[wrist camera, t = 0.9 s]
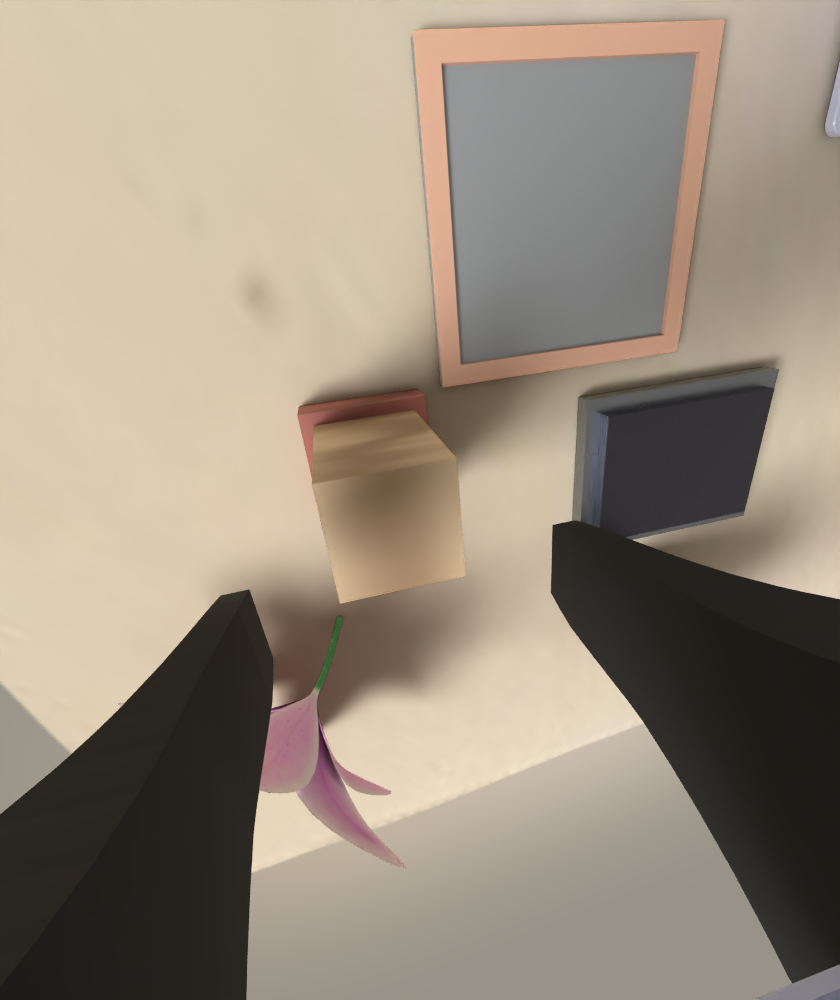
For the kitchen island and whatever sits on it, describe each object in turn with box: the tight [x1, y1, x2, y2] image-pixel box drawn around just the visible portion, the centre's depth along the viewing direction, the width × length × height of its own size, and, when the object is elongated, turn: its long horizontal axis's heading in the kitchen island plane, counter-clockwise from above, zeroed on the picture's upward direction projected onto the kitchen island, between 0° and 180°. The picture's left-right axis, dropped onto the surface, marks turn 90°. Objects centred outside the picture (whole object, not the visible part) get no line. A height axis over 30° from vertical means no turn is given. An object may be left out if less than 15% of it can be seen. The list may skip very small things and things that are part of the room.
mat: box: [411, 20, 725, 388], centre depth 17 cm, size 11×11×1 cm
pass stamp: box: [297, 389, 466, 604], centre depth 16 cm, size 5×5×8 cm
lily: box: [118, 616, 406, 868], centre depth 20 cm, size 12×12×10 cm
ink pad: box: [572, 367, 779, 540], centre depth 22 cm, size 10×8×1 cm
